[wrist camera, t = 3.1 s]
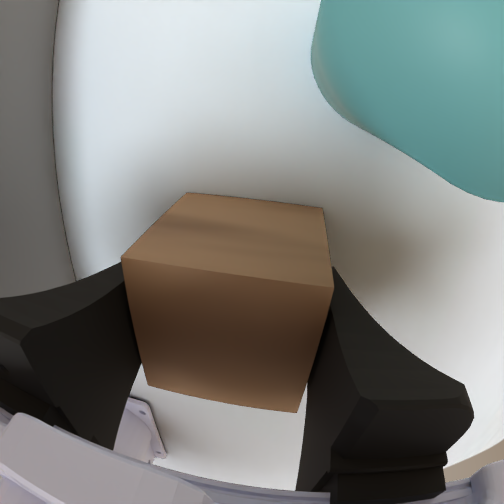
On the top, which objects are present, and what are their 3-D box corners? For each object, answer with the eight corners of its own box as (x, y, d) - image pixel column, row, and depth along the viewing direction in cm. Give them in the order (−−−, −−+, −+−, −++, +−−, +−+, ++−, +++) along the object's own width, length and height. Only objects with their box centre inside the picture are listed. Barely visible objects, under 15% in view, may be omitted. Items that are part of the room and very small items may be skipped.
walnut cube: (301, 316, 13) (296, 412, 9) (189, 300, 14) (147, 385, 10) (322, 207, 11) (334, 288, 7) (186, 192, 12) (121, 256, 7)
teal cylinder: (440, 148, 9) (574, 229, 3) (304, 121, 10) (311, 163, 4) (452, 21, 7) (586, -15, 1) (315, -14, 7) (328, -140, 1)
